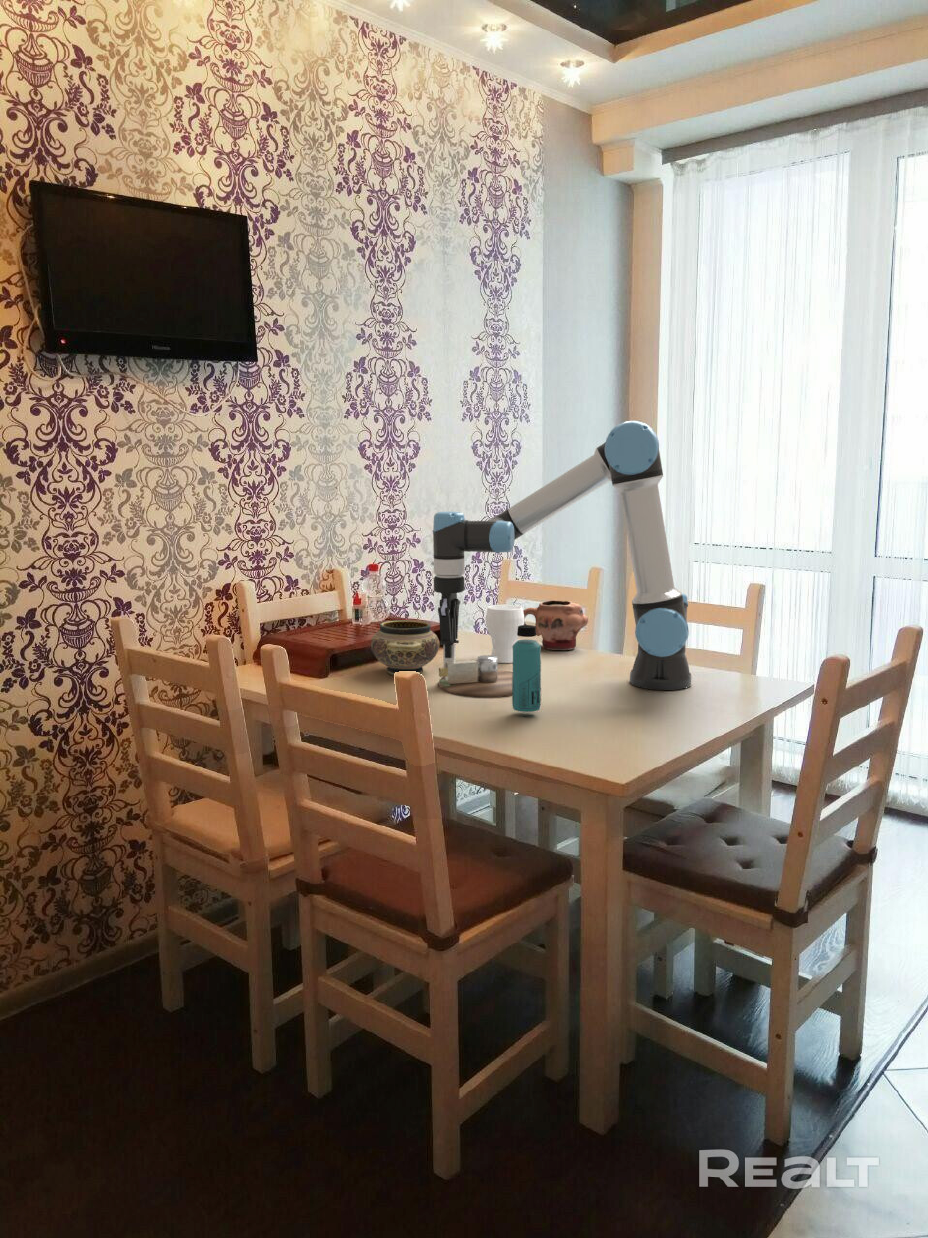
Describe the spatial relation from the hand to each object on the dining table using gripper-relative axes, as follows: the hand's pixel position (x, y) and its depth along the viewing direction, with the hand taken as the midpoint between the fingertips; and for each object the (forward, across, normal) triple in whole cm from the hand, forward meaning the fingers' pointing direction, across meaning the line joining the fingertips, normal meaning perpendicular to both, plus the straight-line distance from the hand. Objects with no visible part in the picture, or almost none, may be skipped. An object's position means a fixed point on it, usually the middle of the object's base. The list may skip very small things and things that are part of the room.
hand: (449, 669), depth 231 cm
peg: (+3, 0, +5) cm, 6 cm away
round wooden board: (+4, -2, +9) cm, 10 cm away
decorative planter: (+5, -50, +19) cm, 54 cm away
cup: (+4, -31, +8) cm, 32 cm away
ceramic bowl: (+4, -11, -15) cm, 19 cm away
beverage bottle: (+4, +22, +23) cm, 32 cm away
